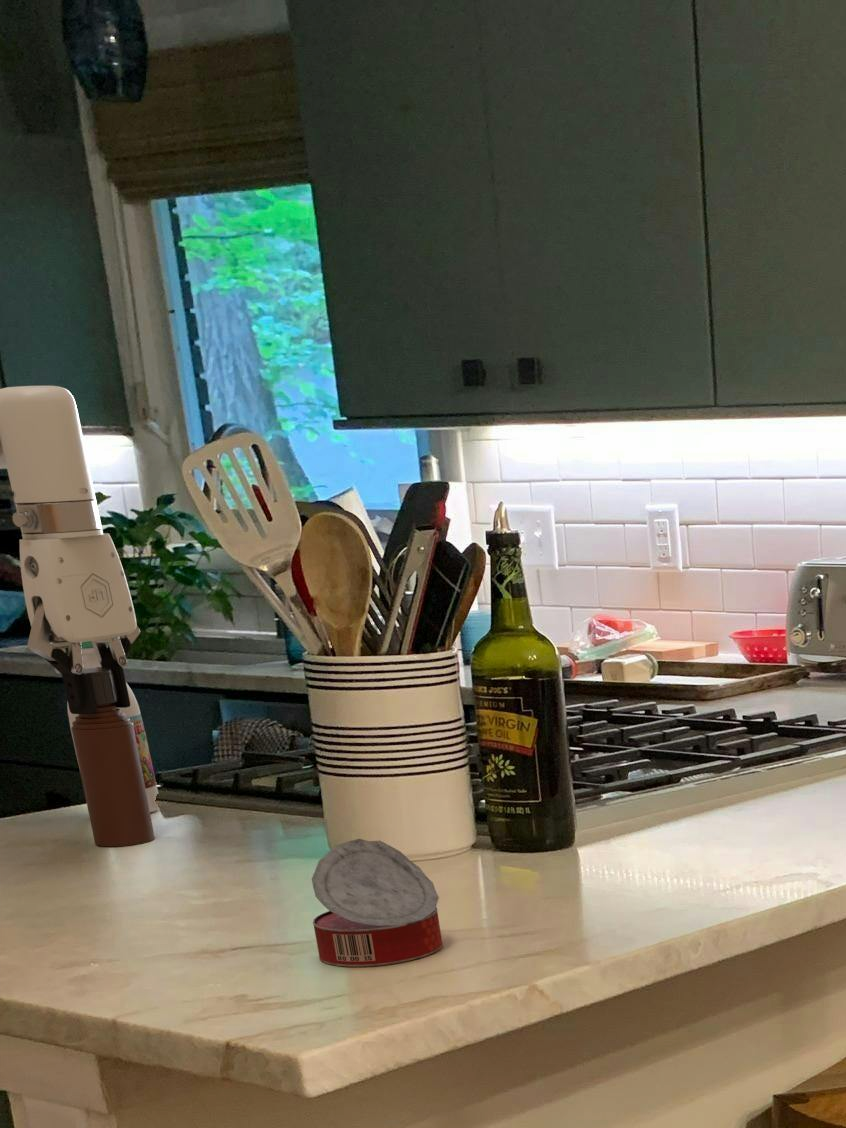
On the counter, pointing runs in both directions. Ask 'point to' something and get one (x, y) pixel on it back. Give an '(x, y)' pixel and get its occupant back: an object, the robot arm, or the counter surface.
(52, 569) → the robot arm
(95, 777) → the sauce bottle
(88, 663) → the milk bottle
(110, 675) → the cap
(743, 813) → the counter surface
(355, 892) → the canned food
